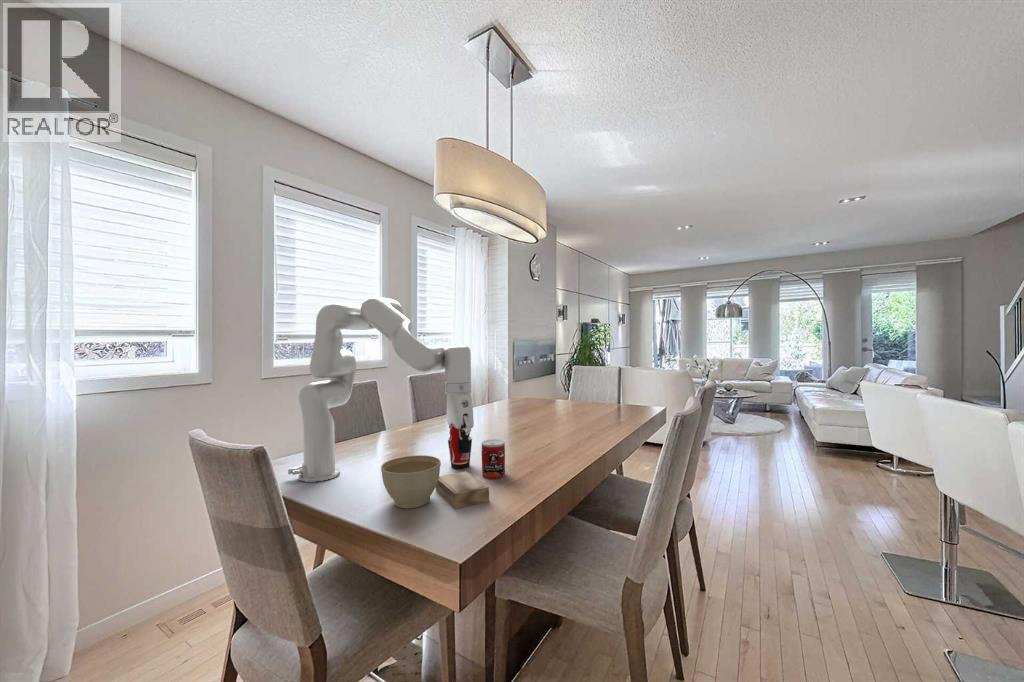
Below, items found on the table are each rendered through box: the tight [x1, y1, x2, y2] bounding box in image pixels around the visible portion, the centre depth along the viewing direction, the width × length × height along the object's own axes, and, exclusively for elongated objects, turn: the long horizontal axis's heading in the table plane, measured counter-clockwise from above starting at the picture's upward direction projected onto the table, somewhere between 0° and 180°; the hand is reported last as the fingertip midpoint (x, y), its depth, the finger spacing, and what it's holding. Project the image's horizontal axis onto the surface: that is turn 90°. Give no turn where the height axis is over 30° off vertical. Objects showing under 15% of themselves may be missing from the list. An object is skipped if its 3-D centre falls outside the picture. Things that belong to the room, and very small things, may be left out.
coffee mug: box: [447, 436, 473, 470], centre depth 148 cm, size 12×9×10 cm
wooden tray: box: [435, 470, 490, 510], centre depth 119 cm, size 10×16×4 cm, turn 29°
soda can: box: [449, 422, 469, 464], centre depth 120 cm, size 6×6×12 cm
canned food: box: [481, 438, 506, 480], centre depth 137 cm, size 8×8×11 cm
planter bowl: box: [380, 454, 442, 509], centre depth 115 cm, size 16×16×11 cm
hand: (459, 449), depth 120 cm, fingers closed on soda can, 5 cm apart
